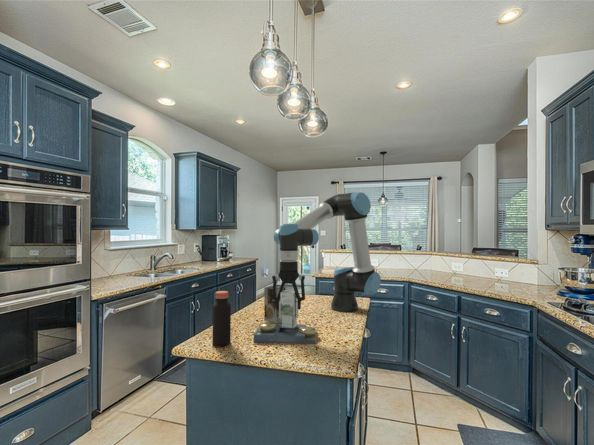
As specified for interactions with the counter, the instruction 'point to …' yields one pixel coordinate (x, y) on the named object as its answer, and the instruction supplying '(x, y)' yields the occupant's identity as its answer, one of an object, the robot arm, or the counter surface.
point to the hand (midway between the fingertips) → (288, 317)
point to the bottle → (221, 320)
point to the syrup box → (288, 309)
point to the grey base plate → (309, 339)
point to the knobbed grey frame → (276, 333)
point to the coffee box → (271, 305)
